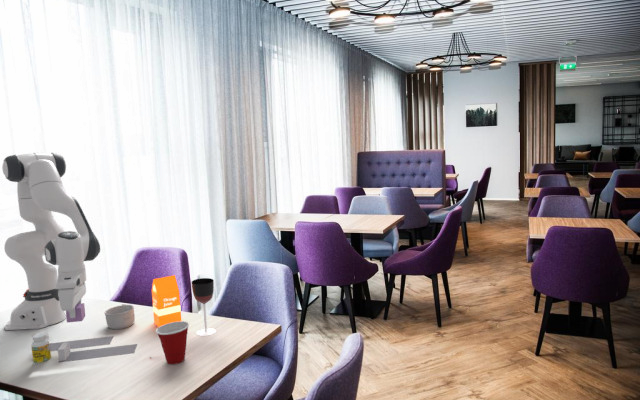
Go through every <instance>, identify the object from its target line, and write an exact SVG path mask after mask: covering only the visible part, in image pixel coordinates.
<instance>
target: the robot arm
mask: <svg viewBox="0 0 640 400" xmlns="http://www.w3.org/2000/svg"><path fill="white" fill-rule="evenodd" d="M66 168H67V164H66V161H65V157H64V156H63V155H62V154H60V153H58V152H51V153H48V152H33V153H23V154H18V155H16V154H13V155H8V156H6V157H5V158H4V159H3V163H2V173H3V175H4V177H5V179H6V180H8V181H9V182H13V183H17V190H16V191H17V193H16V194H17V201H18V210H19V216H20V217H21V219H22V220H24V221H25V222H27V223H32V224H33V226H34V229H35V230H31V231H26V232H20V233H18V234H14V235H12V236H10V237H8V238H7V239H6V241H5V243H4V252H5V255H6V256H7V257H8V258H9V259H10V260H12V261H15V262H16V263H18V264H19V265H20V266H21V267H22V269H23V271H24V272H25V276H26V281H27V286H28V288H27V289H26V290H25V292H24V294H22V297H23V298H24V300H23V301H22V302H21V303H19V304H18V305H17V306H16V307H15V308H14V309H13V310H12V312H11V314H10V318H9V319H10V320H9V321H8V322H6V323H5V325H4V330H5V331H16V330H17V331H18V330H35V329H43V328H46V327H49V326H51V325H52V326H53V325H54V324H57V323H58V324H59V323H60V322H62V321H65V320H66V311H69V314H70V318H75V317H76V312H75V306H76V305H77V304H81V303H82V298H83V297H85V295H86V293H87V286H86V281H87V272H86V271H87V270H86V265H85V262H89V261H90V262H91V261H94V260H95V259H96V258H97V257H98V255H100V252H101V245H100V242H99V239H98V237H97V236H96V235H95V233H94V232H93V229H92V228H91V226H90V223H89V221H88V219H87V217H86V215H85V213H84V211H83V209H82V206H81V205H80V203H79V201H78V200H77V198H75V197H73V196H71V195H70V194H69V193H68V192H67V191H66V189H65V188H64V185H63V182H62V178H63V176H64V175H65V173H66V170H67V169H66ZM52 212H54V213H59V214H61V215H65V216H67V217H68V218H69V219H71V221H72V224H73V225H74V227H75V230H76V231H71V230H69V231H68V230H67V229H66V228H64V227H62V226H61V225H60V224H58V222H57V221H56V220H55V218H54V216H53V214H52ZM44 257H45V261H46V262H47V263H46V262H45V261H44ZM55 266H58V267H57V268H56V267H55Z"/></svg>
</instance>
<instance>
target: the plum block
mask: <svg viewBox="0 0 640 400" xmlns="http://www.w3.org/2000/svg"><path fill="white" fill-rule="evenodd" d="M85 307H86V305H85V303H83V302H81V304H77V305H76V306H75V312H76V317H75V318H70V314H69V311H65V315H66V318H65V320H66V323H77V322H83V321H84V319H85V318H86V309H85Z"/></svg>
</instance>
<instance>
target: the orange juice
mask: <svg viewBox="0 0 640 400" xmlns="http://www.w3.org/2000/svg"><path fill="white" fill-rule="evenodd" d="M151 297H152V298H151V299H152V300H151V301H152V311H153V322H154V324H155V325H156V326H157V328H159V327H160V326H162V325H165V324H168V323H171V322H177V321H182V312H181V311H182V310H181V309H182V307H181V299H180V297H181V296H180V289H179V285H178V281H177V277H176V275H175V274H174V275H169V276H168V275H167V276H163V277H159V278H153V280H152V287H151Z"/></svg>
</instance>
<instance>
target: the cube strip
mask: <svg viewBox="0 0 640 400" xmlns="http://www.w3.org/2000/svg"><path fill="white" fill-rule="evenodd" d="M45 334H46V339H48V340H49V333H45ZM113 338H114V335H111V336H102V337H93V338H86V339H77V340H76V339H75V340H69V341H60V342H51V343H50V342H49V343H50V352H56V351H57V352H58V349H59V348H60V346H61V345H62V344H63V343H66V342H69V344H70V350H74V349H82V348H90V347H98V346H99V347H100V346H105V345H106V346H107V345H108V346H109V345H111V342H112V341H113ZM49 341H50V340H49Z"/></svg>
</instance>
